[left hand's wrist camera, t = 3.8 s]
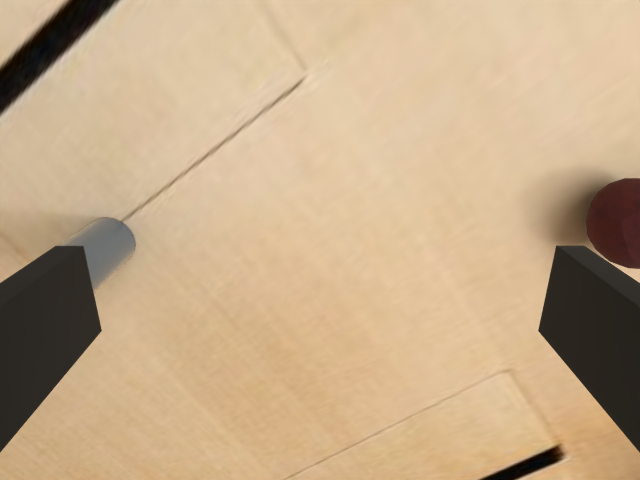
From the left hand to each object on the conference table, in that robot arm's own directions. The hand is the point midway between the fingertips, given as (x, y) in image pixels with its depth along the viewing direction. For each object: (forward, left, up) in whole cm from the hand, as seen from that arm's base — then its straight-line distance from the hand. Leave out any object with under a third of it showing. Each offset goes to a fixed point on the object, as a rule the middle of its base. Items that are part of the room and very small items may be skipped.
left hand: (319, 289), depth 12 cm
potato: (+6, +27, -28) cm, 39 cm away
